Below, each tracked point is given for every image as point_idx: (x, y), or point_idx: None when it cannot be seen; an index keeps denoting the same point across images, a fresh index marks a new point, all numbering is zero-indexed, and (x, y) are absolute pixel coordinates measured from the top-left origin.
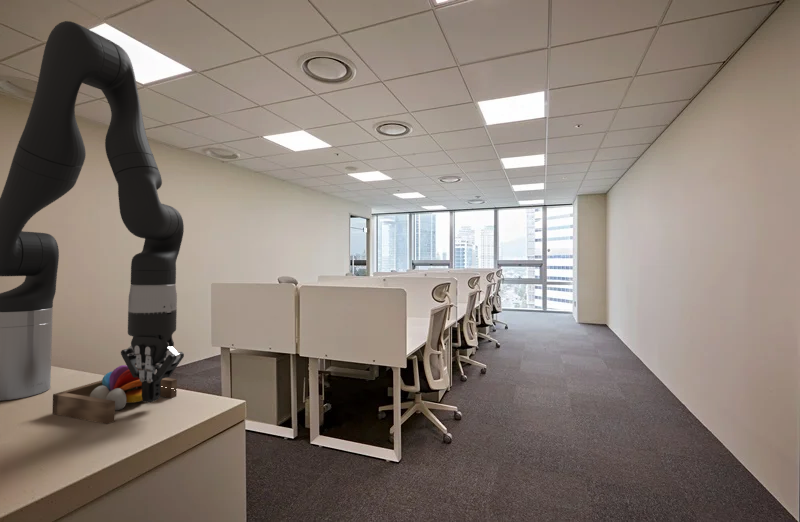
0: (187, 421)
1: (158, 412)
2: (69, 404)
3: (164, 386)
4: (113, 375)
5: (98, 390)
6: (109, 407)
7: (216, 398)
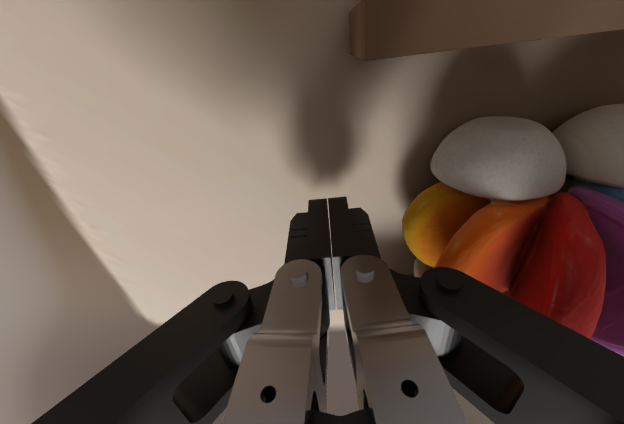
0: (97, 183)
1: (274, 193)
2: None
3: None
4: None
5: None
6: (359, 15)
7: None
